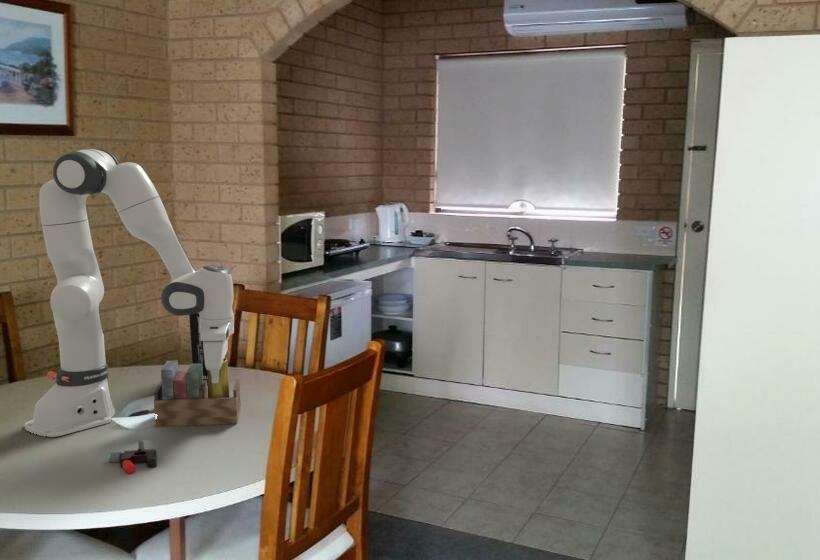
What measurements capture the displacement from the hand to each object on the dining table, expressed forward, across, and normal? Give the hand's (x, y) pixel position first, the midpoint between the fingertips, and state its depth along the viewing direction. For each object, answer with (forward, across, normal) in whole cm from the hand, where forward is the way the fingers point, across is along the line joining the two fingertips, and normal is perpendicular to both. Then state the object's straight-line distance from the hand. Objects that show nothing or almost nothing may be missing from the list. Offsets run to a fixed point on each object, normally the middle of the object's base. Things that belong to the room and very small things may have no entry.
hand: (217, 376), depth 203 cm
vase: (+10, +1, 0) cm, 10 cm away
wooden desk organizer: (+11, 0, -5) cm, 12 cm away
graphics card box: (+12, -38, -7) cm, 40 cm away
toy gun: (+12, +30, -16) cm, 36 cm away
